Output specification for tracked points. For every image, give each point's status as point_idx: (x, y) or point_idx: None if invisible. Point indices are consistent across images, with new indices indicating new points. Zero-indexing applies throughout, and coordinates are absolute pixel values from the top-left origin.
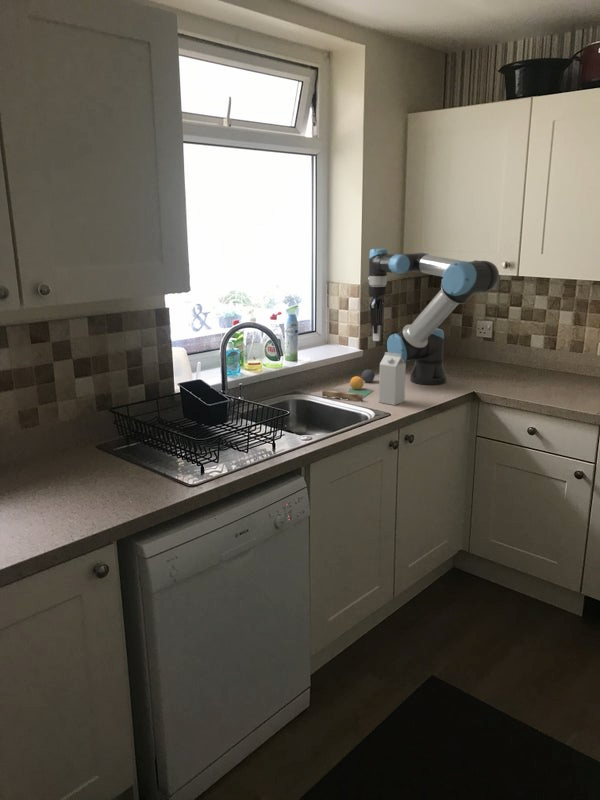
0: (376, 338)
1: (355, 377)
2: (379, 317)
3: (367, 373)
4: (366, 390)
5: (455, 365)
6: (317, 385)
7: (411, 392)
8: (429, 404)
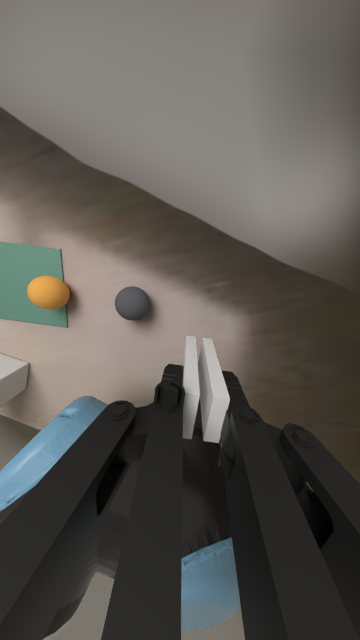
0: (183, 360)
1: (29, 293)
2: (236, 554)
3: (115, 306)
4: (60, 314)
5: (344, 446)
6: (51, 173)
7: (90, 391)
8: (33, 420)
